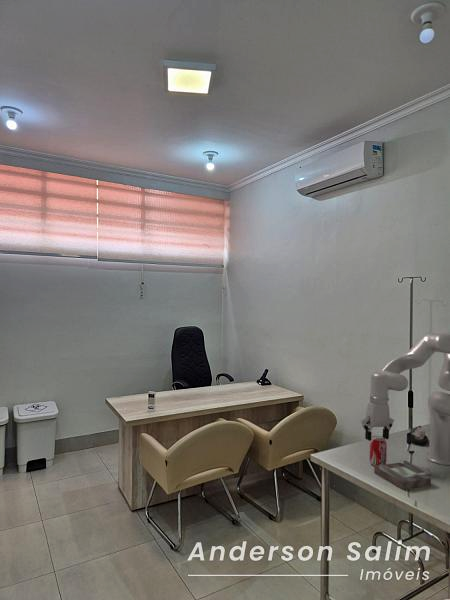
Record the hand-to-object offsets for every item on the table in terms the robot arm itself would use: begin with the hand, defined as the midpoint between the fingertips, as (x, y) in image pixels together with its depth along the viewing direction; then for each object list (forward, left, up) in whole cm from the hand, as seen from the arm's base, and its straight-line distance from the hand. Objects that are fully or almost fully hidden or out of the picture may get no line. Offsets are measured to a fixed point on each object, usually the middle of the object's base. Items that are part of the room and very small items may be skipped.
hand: (376, 439), depth 176 cm
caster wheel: (-44, -17, -12) cm, 49 cm away
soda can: (-1, 0, -12) cm, 12 cm away
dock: (0, +15, -12) cm, 19 cm away
